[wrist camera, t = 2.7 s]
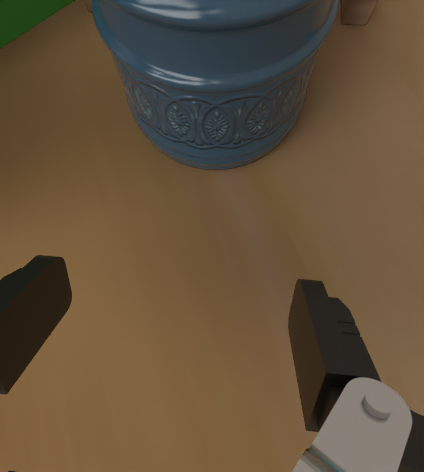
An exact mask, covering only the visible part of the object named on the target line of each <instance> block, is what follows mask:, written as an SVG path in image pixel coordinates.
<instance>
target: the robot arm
mask: <svg viewBox="0 0 424 472" xmlns="http://www.w3.org/2000/svg"><path fill="white" fill-rule="evenodd" d="M71 300H72V291H71V287H70V282H69V278H68V273H67V269H66V264H65V261H64V259H63V258H61V257H54V256H43V255H38V256H36V257H34V258H33V259H32V260H31V261H30V262H29V263H28V264H27V265H26V266H24V267H23V268H20V269H18V270H16V271H14V272H12V273H10V274H9V275H7V276H5V277H3V278H2V279H1V280H0V394H6V395H7V393H8V392H9V391H10V389H11V388H12V386H13V385H14V384H15V382H16V381H17V380H18V378H19V377H20V375H21V374H22V373H23V371H24V370H25V369H26V367H27V366H28V364H29V363H30V362H31V360H32V359H33V357H34V356H35V355H36V353H37V352H38V351H39V349H40V348H41V346H42V345H43V344H44V342H45V341H46V339H47V338H48V337H49V335H50V334H51V333H52V331H53V330H54V328H55V327H56V326H57V324H58V323H59V322H60V320H61V319H62V317H63V316H64V315H65V313H66V312H67V310H68V309H69V307H70V304H71ZM288 329H289V336H290V342H291V348H292V353H293V359H294V365H295V370H296V376H297V382H298V387H299V393H300V399H301V404H302V410H303V416H304V421H305V427H306V431H315V432H319V433H318V435H317V436H316V438H315V440H314V441H313V443H312V445H311V446H310V448H309V449H306V450H305V452H304V453H303V454H302V456H301V458H300V459H299V461H298V462H297V464H296V466H295V468H294V469H293V471H292V472H424V416H422V415H419V414H417V413H415V412H413V411H411V410H410V409H409V408H408V406H407V404H406V403H405V401H404V400H403V399H402V398H401V397H400V396H399V395H398V394H397V393H396V392H395V391H394V390H393V389H392V388H390V387H389V386H387V385H386V384H384V383H382V382H381V380H380V378H379V375H378V373H377V371H376V369H375V366H374V364H373V362H372V360H371V357H370V355H369V353H368V351H367V348H366V346H365V344H364V342H363V339H362V337H360V333H359V330H358V328H357V326H355V321H354V319H353V317H352V315H351V312H350V310H349V309H348V308H347V307H346V306H345V305H344V304H343V303H342V302H341V301H340V300H339V299H338V298H332V297H328V295H327V292H326V289H325V287H324V284H323V282H322V281H316V280H304V279H298V280H297V282H296V286H295V290H294V295H293V299H292V304H291V308H290V313H289V321H288ZM8 472H14V471H8Z"/></svg>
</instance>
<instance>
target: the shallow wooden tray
mask: <svg viewBox="0 0 424 472" xmlns="http://www.w3.org/2000/svg"><path fill="white" fill-rule="evenodd" d="M84 1H85V4H86V6H87V8H88V11H89V12H93V11H92V0H84ZM377 1H378V0H341V21H342V24H355V25H366V23H367V21H368V19H369V17H370V15H371V13H372V11H373V9H374V7H375V5H376V3H377Z"/></svg>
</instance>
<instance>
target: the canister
mask: <svg viewBox="0 0 424 472" xmlns="http://www.w3.org/2000/svg"><path fill="white" fill-rule="evenodd" d="M338 7H339V0H92V11H93V16H94V20H95V24H96V27H97V29H98V31H99V33H100V36H101V37H102V39H103V41H104V42H105V44H106V45H107V47H108V48H109V49H110V51H111V54H112V56H113V59H114V61H115V64H116V66H117V69H118V71H119V74H120V77H121V79H122V82H123V84H124V87H125V89H126V96H127V100H128V104H129V106H130V109H131V111H132V113H133V116H134V118H135V120H136V122H137V124H138V126H139V127H140V129H141V130H142V131H143V133H144V134H145V135H146V136H147V137H148V138H149V140H150V141H151V142H152V143H153V145H154V146H155V147H156V148H157V149H159V150H160V151H161V152H162V153H164V154H165V155H166V156H168V157H170V158H171V159H173V160H175V161H177V162H179V163H182V164H185V165H188V166H191V167H195V168H200V169H209V170H221V169H231V168H236V167H240V166H243V165H246V164H249V163H251V162H254V161H256V160H258V159H260V158H261V157H263V156H265V155H266V154H268V153H269V152H270V151H272V150H273V149H274V148H275V147H276V146H277V145H278V144H279V143H280V142H281V141H282V139H283V138H284V137H285V135H286V134H287V133H288V132H289V131H290V129H291V128H292V126H293V125H294V123H295V122H296V120H297V118H298V116H299V113H300V110H301V108H302V106H303V103H304V100H305V96H306V91H307V85H308V82H309V79H310V77H311V74H312V71H313V68H314V66H315V63H316V60H317V58H318V55H319V52H320V50H321V47H322V44H323V42H324V40H325V39H326V37H327V36H328V34H329V32H330V30H331V29H332V26H333V24H334V22H335V19H336V16H337V12H338Z"/></svg>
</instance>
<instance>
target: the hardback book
mask: <svg viewBox="0 0 424 472" xmlns="http://www.w3.org/2000/svg"><path fill="white" fill-rule="evenodd" d="M73 1H74V0H0V48H2V47H3V46H5V45H6V44H8V43H9V42H11V41H12V40H14V39H16V38H17V37H19V36H20V35H22V34H23V33H25V32H26V31H28V30H29V29H31V28H33V27H34V26H36V25H37V24H39V23H40V22H42V21H43V20H45V19H46V18H48V17H50V16H51V15H53V14H54V13H56V12H57V11H59V10H60V9H62V8H63V7H65V6H66V5H68V4H70V3H71V2H73Z"/></svg>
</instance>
